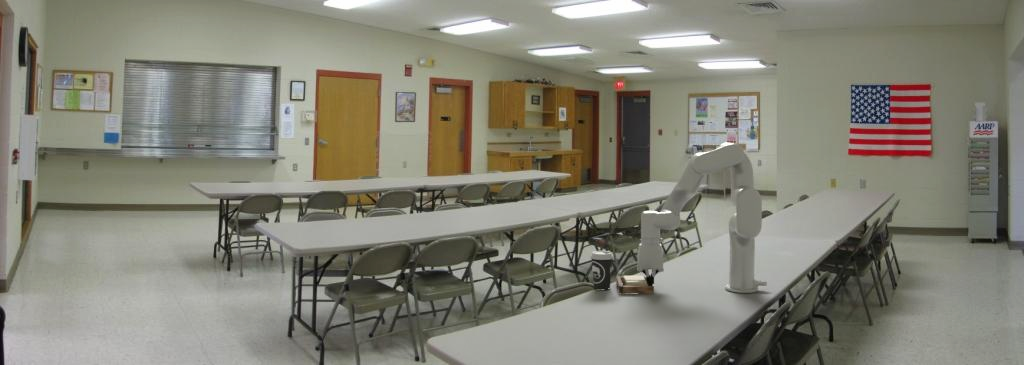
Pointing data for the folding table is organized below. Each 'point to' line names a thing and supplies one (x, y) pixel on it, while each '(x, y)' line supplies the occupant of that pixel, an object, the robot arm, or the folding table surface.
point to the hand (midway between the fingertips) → (650, 285)
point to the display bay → (633, 288)
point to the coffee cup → (601, 269)
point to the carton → (634, 281)
